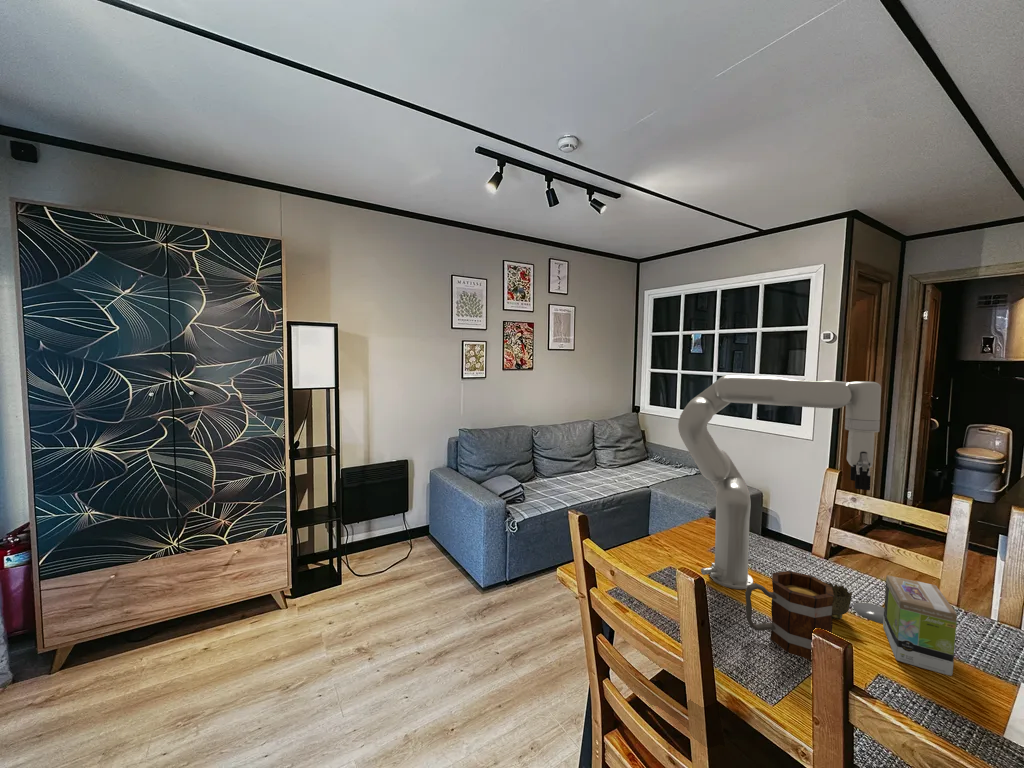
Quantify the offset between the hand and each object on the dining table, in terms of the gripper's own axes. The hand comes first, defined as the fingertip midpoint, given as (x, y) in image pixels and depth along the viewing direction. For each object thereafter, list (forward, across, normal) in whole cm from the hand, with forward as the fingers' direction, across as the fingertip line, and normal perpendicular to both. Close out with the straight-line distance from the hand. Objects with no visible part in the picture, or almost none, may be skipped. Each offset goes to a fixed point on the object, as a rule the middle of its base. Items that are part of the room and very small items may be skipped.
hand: (859, 484), depth 121 cm
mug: (+35, +29, -17) cm, 49 cm away
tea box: (+36, +17, +10) cm, 40 cm away
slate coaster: (+36, +2, +4) cm, 36 cm away
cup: (+35, +10, -6) cm, 37 cm away
